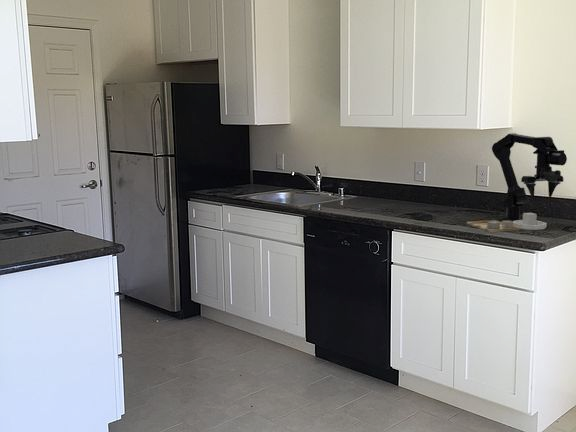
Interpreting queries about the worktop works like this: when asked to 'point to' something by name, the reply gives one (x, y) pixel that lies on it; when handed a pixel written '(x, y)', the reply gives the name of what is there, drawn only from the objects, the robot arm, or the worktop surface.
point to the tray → (483, 226)
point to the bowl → (538, 225)
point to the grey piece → (493, 225)
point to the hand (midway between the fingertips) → (541, 197)
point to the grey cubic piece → (507, 224)
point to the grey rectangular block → (529, 219)
